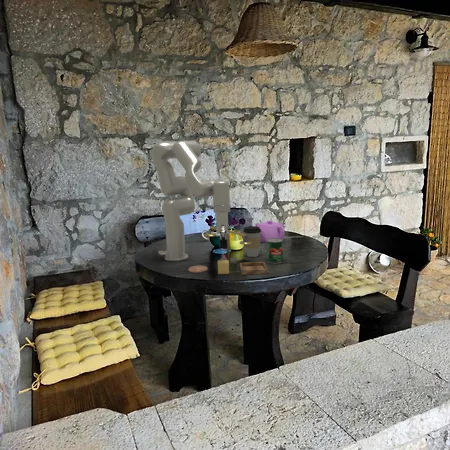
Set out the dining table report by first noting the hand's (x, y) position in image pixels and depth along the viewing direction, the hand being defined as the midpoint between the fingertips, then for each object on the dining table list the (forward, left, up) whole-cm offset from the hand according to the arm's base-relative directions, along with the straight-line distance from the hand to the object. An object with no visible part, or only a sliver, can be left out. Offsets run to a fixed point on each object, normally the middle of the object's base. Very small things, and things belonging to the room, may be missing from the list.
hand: (223, 245), depth 184 cm
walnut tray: (+14, +1, -13) cm, 19 cm away
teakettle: (+29, +58, -13) cm, 66 cm away
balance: (+3, +16, -13) cm, 21 cm away
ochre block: (0, 0, -13) cm, 13 cm away
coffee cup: (+16, +26, -13) cm, 33 cm away
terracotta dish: (-12, +5, -13) cm, 18 cm away
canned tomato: (+26, +14, -13) cm, 32 cm away
